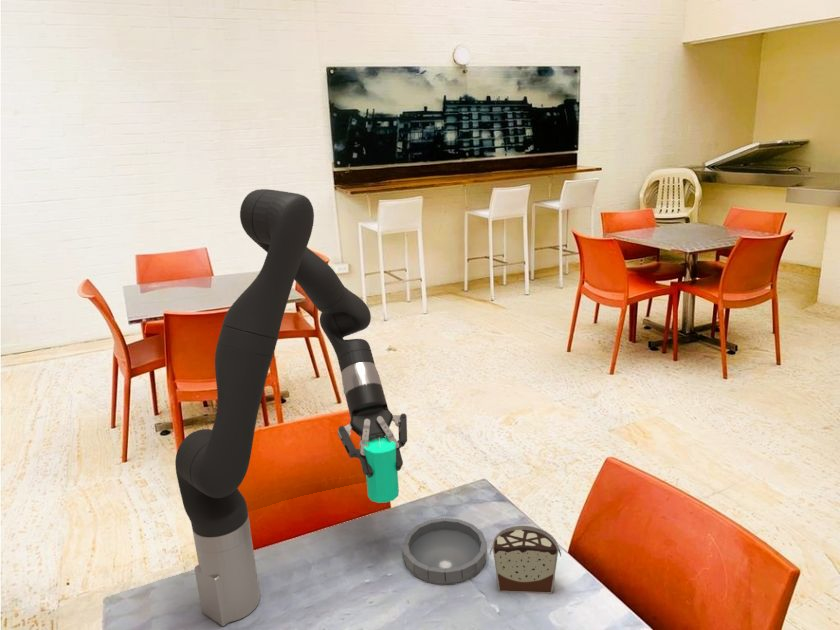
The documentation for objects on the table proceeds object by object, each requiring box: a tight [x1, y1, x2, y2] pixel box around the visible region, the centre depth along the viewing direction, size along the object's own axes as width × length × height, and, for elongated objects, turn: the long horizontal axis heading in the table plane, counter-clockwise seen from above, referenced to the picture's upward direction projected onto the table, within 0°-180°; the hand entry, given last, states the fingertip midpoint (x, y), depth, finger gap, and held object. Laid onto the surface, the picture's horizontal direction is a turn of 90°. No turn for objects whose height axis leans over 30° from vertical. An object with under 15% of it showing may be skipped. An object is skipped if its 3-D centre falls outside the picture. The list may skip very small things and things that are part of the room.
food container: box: [489, 525, 562, 595], centre depth 108 cm, size 12×6×10 cm, turn 84°
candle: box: [364, 437, 400, 504], centre depth 113 cm, size 6×6×12 cm
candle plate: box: [402, 517, 488, 586], centre depth 116 cm, size 16×16×3 cm
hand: (384, 472), depth 111 cm, fingers closed on candle, 5 cm apart
